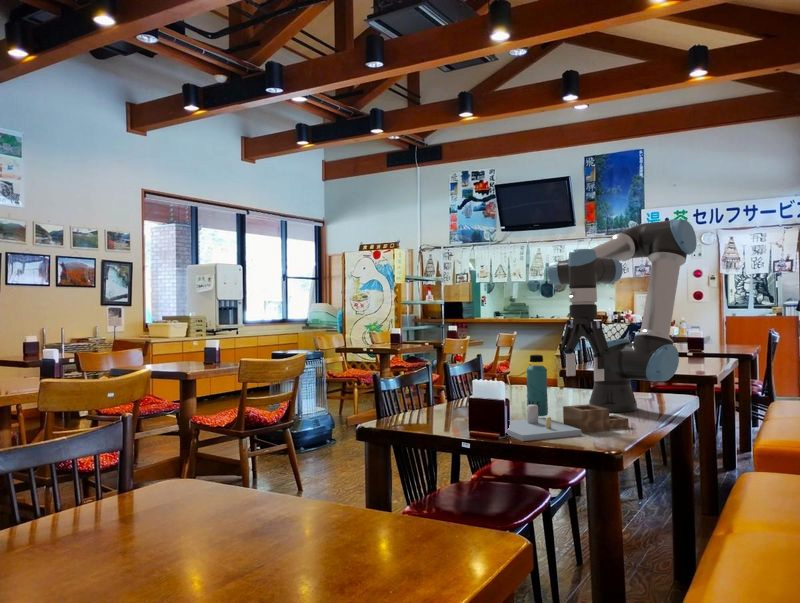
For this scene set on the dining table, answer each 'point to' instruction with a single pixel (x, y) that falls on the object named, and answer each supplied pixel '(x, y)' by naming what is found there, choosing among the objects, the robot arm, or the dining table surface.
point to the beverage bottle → (537, 385)
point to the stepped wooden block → (592, 418)
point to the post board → (539, 427)
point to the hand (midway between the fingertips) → (584, 378)
